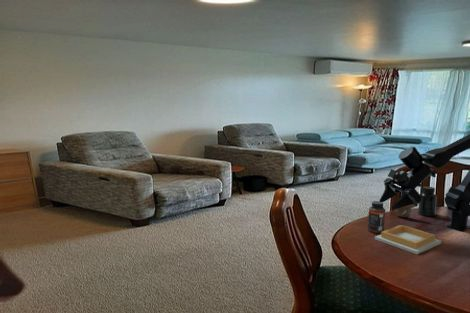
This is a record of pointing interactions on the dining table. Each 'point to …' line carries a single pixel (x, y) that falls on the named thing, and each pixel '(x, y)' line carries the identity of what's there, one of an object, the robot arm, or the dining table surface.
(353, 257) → the dining table surface
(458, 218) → the robot arm
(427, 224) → the dining table surface
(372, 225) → the supplement bottle
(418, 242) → the plate
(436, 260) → the dining table surface
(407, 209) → the oil lamp
